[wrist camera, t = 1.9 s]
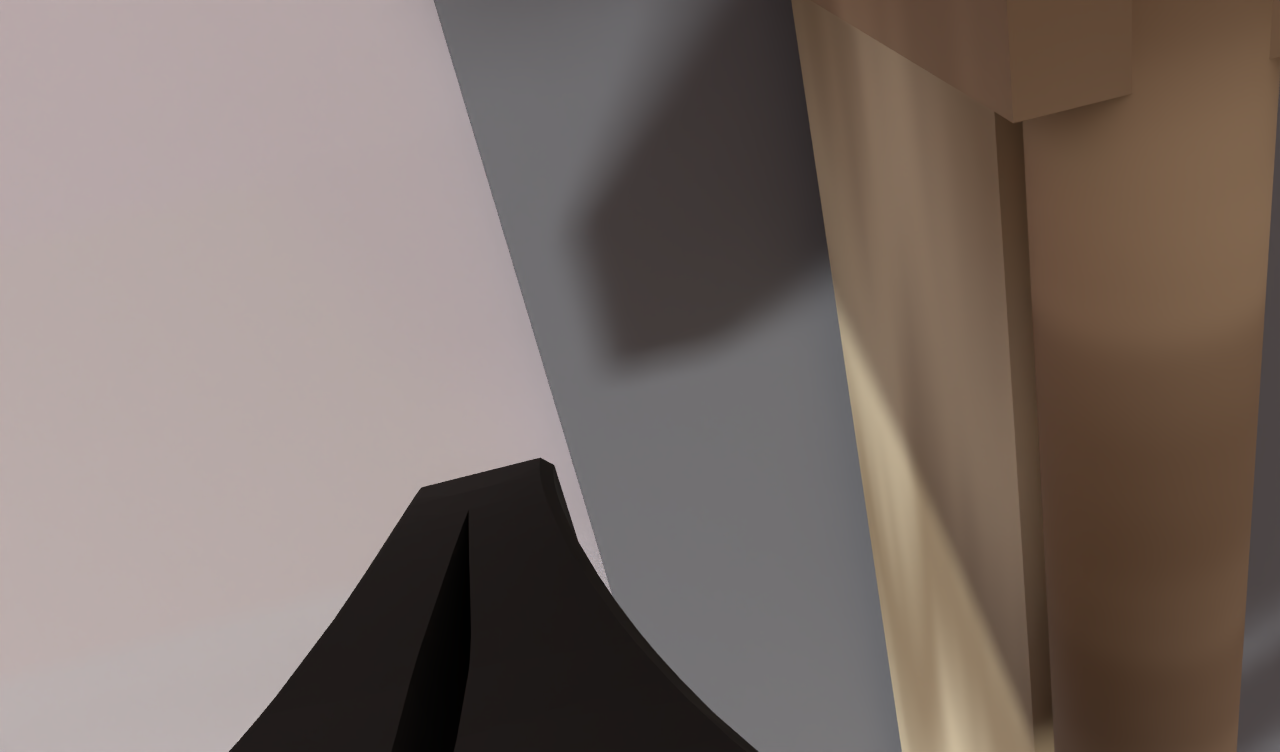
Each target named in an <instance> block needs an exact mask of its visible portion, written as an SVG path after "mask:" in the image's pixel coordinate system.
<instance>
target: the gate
mask: <svg viewBox="0 0 1280 752" xmlns="http://www.w3.org/2000/svg"><path fill="white" fill-rule="evenodd" d="M791 2H792V9H793V16H794V22H795V29H796V36H797V43H798V50H799V56H800V63H801V70H802V77H803V84H804V90H805V97H806V104H807V111H808V117H809V124H810V131H811V138H812V145H813V151H814V158H815V165H816V172H817V179H818V185H819V192H820V199H821V206H822V212H823V219H824V226H825V233H826V240H827V246H828V253H829V260H830V267H831V274H832V280H833V287H834V294H835V301H836V308H837V314H838V321H839V328H840V335H841V341H842V348H843V355H844V362H845V369H846V375H847V382H848V389H849V396H850V403H851V409H852V416H853V423H854V430H855V436H856V443H857V450H858V457H859V464H860V470H861V477H862V484H863V491H864V498H865V504H866V511H867V518H868V525H869V532H870V538H871V545H872V552H873V559H874V565H875V572H876V579H877V586H878V593H879V599H880V606H881V613H882V620H883V627H884V633H885V640H886V647H887V654H888V660H889V667H890V674H891V681H892V688H893V694H894V701H895V708H896V715H897V722H898V728H899V735H900V742H901V749H902V752H1237V737H1238V722H1239V706H1240V690H1241V675H1242V659H1243V643H1244V628H1245V612H1246V597H1247V581H1248V565H1249V550H1250V534H1251V518H1252V503H1253V487H1254V471H1255V456H1256V440H1257V425H1258V409H1259V393H1260V378H1261V362H1262V346H1263V331H1264V315H1265V300H1266V284H1267V268H1268V253H1269V237H1270V221H1271V206H1272V190H1273V174H1274V159H1275V143H1276V128H1277V112H1278V96H1279V81H1280V0H791Z"/></svg>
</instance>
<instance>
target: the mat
mask: <svg viewBox="0 0 1280 752" xmlns="http://www.w3.org/2000/svg"><path fill="white" fill-rule="evenodd" d="M434 3H435V6H436V9H437V13H438V16H439V19H440V23H441V26H442V29H443V33H444V36H445V39H446V43H447V46H448V49H449V53H450V56H451V59H452V63H453V66H454V69H455V73H456V76H457V79H458V83H459V86H460V89H461V93H462V96H463V99H464V103H465V106H466V109H467V113H468V116H469V119H470V123H471V126H472V129H473V133H474V136H475V139H476V143H477V146H478V149H479V152H480V156H481V159H482V162H483V166H484V169H485V172H486V176H487V179H488V182H489V186H490V189H491V192H492V196H493V199H494V202H495V206H496V209H497V212H498V216H499V219H500V222H501V226H502V229H503V232H504V236H505V239H506V242H507V246H508V249H509V252H510V256H511V259H512V262H513V266H514V269H515V272H516V276H517V279H518V282H519V286H520V289H521V292H522V296H523V299H524V302H525V306H526V309H527V312H528V316H529V319H530V322H531V326H532V329H533V332H534V336H535V339H536V342H537V346H538V349H539V352H540V356H541V359H542V362H543V366H544V369H545V372H546V376H547V379H548V382H549V386H550V389H551V392H552V395H553V399H554V402H555V405H556V409H557V412H558V415H559V419H560V422H561V425H562V429H563V432H564V435H565V439H566V442H567V445H568V449H569V452H570V455H571V459H572V462H573V465H574V469H575V472H576V475H577V479H578V482H579V485H580V489H581V492H582V495H583V499H584V502H585V505H586V509H587V512H588V515H589V519H590V522H591V525H592V529H593V532H594V535H595V539H596V542H597V545H598V549H599V552H600V555H601V559H602V562H603V565H604V569H605V572H606V575H607V579H608V582H609V585H610V589H611V592H612V595H613V597H614V599H615V600H616V602H617V603H618V604H619V606H620V607H621V608H622V610H623V611H624V612H625V614H626V615H627V616H628V618H629V619H630V621H631V622H632V623H633V624H634V626H635V627H636V628H637V629H638V631H639V632H640V633H641V634H642V636H643V637H644V638H645V639H646V641H647V642H648V643H649V644H650V645H651V647H652V648H653V649H654V650H655V651H656V652H657V654H658V655H659V656H660V657H661V658H662V659H663V660H664V661H665V662H666V663H667V665H668V666H669V667H670V668H671V669H672V670H673V671H674V672H675V673H676V675H677V676H678V677H679V678H680V679H681V680H682V681H683V682H684V683H685V684H686V685H687V686H688V687H689V688H690V689H691V690H692V691H693V692H694V693H695V694H696V695H697V696H698V697H699V698H700V699H701V700H702V701H703V702H704V703H705V704H706V705H707V706H708V707H709V708H710V709H711V710H712V711H713V712H714V713H715V714H716V715H717V716H718V717H719V718H721V719H722V720H723V721H724V722H725V723H726V724H727V725H729V726H730V727H731V728H732V729H733V730H734V731H735V732H737V733H738V734H739V735H740V736H741V737H742V738H744V739H745V740H746V741H747V742H748V743H749V744H750V745H752V746H753V747H754V748H755V749H756V750H757V751H758V752H902V749H901V742H900V735H899V728H898V722H897V715H896V708H895V701H894V694H893V688H892V681H891V674H890V667H889V660H888V654H887V647H886V640H885V633H884V627H883V620H882V613H881V606H880V599H879V593H878V586H877V579H876V572H875V565H874V559H873V552H872V545H871V538H870V532H869V525H868V518H867V511H866V504H865V498H864V491H863V484H862V477H861V470H860V464H859V457H858V450H857V443H856V436H855V430H854V423H853V416H852V409H851V403H850V396H849V389H848V382H847V375H846V369H845V362H844V355H843V348H842V341H841V335H840V328H839V321H838V314H837V308H836V301H835V294H834V287H833V280H832V274H831V267H830V260H829V253H828V246H827V240H826V233H825V226H824V219H823V212H822V206H821V199H820V192H819V185H818V179H817V172H816V165H815V158H814V151H813V145H812V138H811V131H810V124H809V117H808V111H807V104H806V97H805V90H804V84H803V77H802V70H801V63H800V56H799V50H798V43H797V36H796V29H795V22H794V16H793V9H792V2H791V0H434ZM1237 752H1280V81H1279V96H1278V112H1277V128H1276V143H1275V159H1274V174H1273V190H1272V206H1271V221H1270V237H1269V253H1268V268H1267V284H1266V300H1265V315H1264V331H1263V346H1262V362H1261V378H1260V393H1259V409H1258V425H1257V440H1256V456H1255V471H1254V487H1253V503H1252V518H1251V534H1250V550H1249V565H1248V581H1247V597H1246V612H1245V628H1244V643H1243V659H1242V675H1241V690H1240V706H1239V722H1238V737H1237Z"/></svg>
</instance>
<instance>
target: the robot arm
mask: <svg viewBox="0 0 1280 752" xmlns="http://www.w3.org/2000/svg"><path fill="white" fill-rule="evenodd" d="M229 752H758V751H757V750H756V749H755V748H754V747H753V746H752V745H750V744H749V743H748V742H747V741H746V740H745V739H744V738H742V737H741V736H740V735H739V734H738V733H737V732H735V731H734V730H733V729H732V728H731V727H730V726H729V725H727V724H726V723H725V722H724V721H723V720H722V719H721V718H719V717H718V716H717V715H716V714H715V713H714V712H713V711H712V710H711V709H710V708H709V707H708V706H707V705H706V704H705V703H704V702H703V701H702V700H701V699H700V698H699V697H698V696H697V695H696V694H695V693H694V692H693V691H692V690H691V689H690V688H689V687H688V686H687V685H686V684H685V683H684V682H683V681H682V680H681V679H680V678H679V677H678V676H677V675H676V673H675V672H674V671H673V670H672V669H671V668H670V667H669V666H668V665H667V663H666V662H665V661H664V660H663V659H662V658H661V657H660V656H659V655H658V654H657V652H656V651H655V650H654V649H653V648H652V647H651V645H650V644H649V643H648V642H647V641H646V639H645V638H644V637H643V636H642V634H641V633H640V632H639V631H638V629H637V628H636V627H635V626H634V624H633V623H632V622H631V621H630V619H629V618H628V616H627V615H626V614H625V612H624V611H623V610H622V608H621V607H620V606H619V604H618V603H617V602H616V600H615V599H614V597H613V596H612V595H611V593H610V592H609V590H608V589H607V587H606V586H605V584H604V583H603V581H602V580H601V578H600V577H599V576H598V574H597V572H596V571H595V569H594V567H593V566H592V564H591V562H590V561H589V559H588V557H587V556H586V554H585V552H584V550H583V549H582V547H581V545H580V544H579V542H578V540H577V536H576V533H575V530H574V527H573V524H572V520H571V517H570V514H569V511H568V508H567V505H566V501H565V498H564V495H563V492H562V489H561V485H560V482H559V479H558V476H557V473H556V469H555V466H554V465H553V464H551V463H549V462H547V461H545V460H544V459H542V458H537V459H533V460H529V461H525V462H521V463H517V464H513V465H509V466H505V467H501V468H497V469H493V470H489V471H485V472H481V473H477V474H473V475H469V476H465V477H461V478H457V479H453V480H449V481H445V482H442V483H438V484H434V485H430V486H426V487H422V488H421V489H420V490H419V491H418V493H417V494H416V496H415V497H414V499H413V500H412V502H411V503H410V505H409V506H408V508H407V509H406V511H405V513H404V514H403V516H402V517H401V519H400V520H399V522H398V523H397V525H396V526H395V528H394V529H393V531H392V533H391V534H390V536H389V537H388V539H387V540H386V542H385V543H384V545H383V547H382V548H381V550H380V551H379V553H378V554H377V556H376V557H375V559H374V561H373V562H372V564H371V565H370V567H369V568H368V570H367V571H366V573H365V574H364V576H363V577H362V579H361V580H360V582H359V583H358V585H357V586H356V588H355V589H354V591H353V592H352V594H351V595H350V597H349V598H348V600H347V601H346V603H345V604H344V606H343V607H342V608H341V610H340V611H339V613H338V614H337V616H336V617H335V619H334V620H333V622H332V623H331V624H330V626H329V627H328V628H327V630H326V631H325V632H324V634H323V635H322V636H321V637H320V639H319V640H318V641H317V643H316V644H315V645H314V647H313V648H312V649H311V651H310V652H309V653H308V655H307V656H306V657H305V659H304V660H303V661H302V663H301V664H300V665H299V667H298V668H297V669H296V671H295V672H294V673H293V675H292V676H291V677H290V679H289V680H288V681H287V683H286V684H285V685H284V687H283V688H282V689H281V690H280V692H279V693H278V694H277V696H276V697H275V698H274V700H273V701H272V702H271V703H270V704H269V706H268V707H267V708H266V709H265V710H264V712H263V713H262V714H261V715H260V717H259V718H258V719H257V720H256V721H255V722H254V724H253V725H252V726H251V727H250V728H249V729H248V731H247V732H246V733H245V734H244V735H243V736H242V738H241V739H240V740H239V741H238V742H237V743H236V744H235V745H234V747H233V748H232V749H231V750H230V751H229Z"/></svg>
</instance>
